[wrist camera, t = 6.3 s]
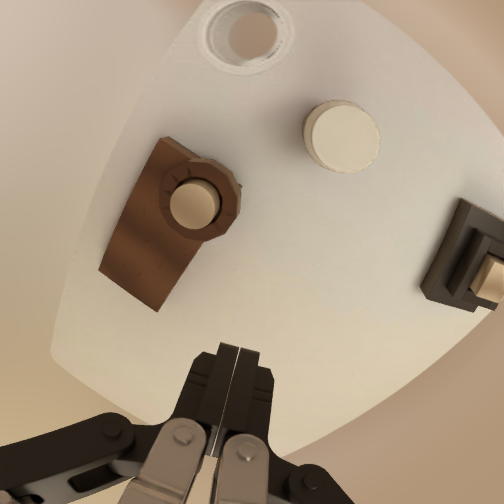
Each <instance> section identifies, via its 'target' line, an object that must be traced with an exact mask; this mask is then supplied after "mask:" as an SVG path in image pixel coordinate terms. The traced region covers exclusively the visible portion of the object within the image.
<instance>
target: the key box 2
mask: <svg viewBox="0 0 504 504" xmlns="http://www.w3.org/2000/svg"><path fill="white" fill-rule="evenodd" d="M486 253H487V254H490V255H492V256H494V257H496V258H498V259H501V260H503V261H504V220H503V219H501V218H499V217H497V216H495V215H494V214H492V213H490V212H488V211H486V210H484V209H482V208H480V207H478V206H477V205H475V204H473V203H471V202H469V201H467V200H465V199H463V198H461V199H460V202H459V205H458V207H457V210H456V212H455V215H454V217H453V219H452V222H451V224H450V226H449V229H448V231H447V233H446V236H445V238H444V240H443V242H442V244H441V246H440V249H439V251H438V253H437V255H436V257H435V259H434V261H433V263H432V265H431V267H430V269H429V271H428V273H427V275H426V277H425V279H424V281H423V283H422V285H421V287H420V288H421V290H422V292H423V294H424V295H425V297H426V299H428V300H431V301H435V302H438V303H442V304H445V305H449V306H452V307H456V308H459V309H463V310H466V311H469V312H473V313H474V312H475V310H476V308H477V307H478V306H481V307H484V308H488V309H490V310H493V311H494V310H495V309H496V307H497V306H498V304H499V303H496V302H493V301H490V300H487V299H484V298H481V297H478V296H476V295H475V293H474V292H473V291H472V289H471V288H470V287H469V286H470V284H471V282H472V280H473V278H474V276H475V275H476V273H477V271H478V269H479V267H480V265H481V263H482V261H483V259H484V257H485V255H486Z"/></svg>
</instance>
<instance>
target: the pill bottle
mask: <svg viewBox="0 0 504 504" xmlns="http://www.w3.org/2000/svg"><path fill="white" fill-rule="evenodd" d="M302 136H303V140H304V143H305V146H306V149H307V151H308V153H309V155H310V156H311V157H312V159H313V160H314V161H315V162H316V163H318V164H319V165H320V166H322V167H324V168H326V169H328V170H331V171H335V172H340V173H354V172H358V171H361V170H363V169H365V168H366V167H368V166H369V165H370V164H371V163H372V162H373V161H374V159H375V158H376V156H377V154H378V151H379V147H380V134H379V130H378V127H377V125H376V123H375V122H374V120H373V119H372V117H371V116H370V115H369V114H368V113H366V112H365V111H364V110H363V109H362V108H361V107H359V106H358V105H356V104H354V103H351V102H348V101H343V100H332V101H328V102H326V103H324V104H321V105H319V106H317V107H315V108H313V109H312V110H311V111H310V112H309V113H308V114H307V115H306V117H305V119H304V122H303V125H302Z"/></svg>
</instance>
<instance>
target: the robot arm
mask: <svg viewBox="0 0 504 504" xmlns="http://www.w3.org/2000/svg"><path fill="white" fill-rule="evenodd" d="M238 350H239V347H237V346H233V345H229V344H225V343H222V342H220V345H219V348H218V351H217V354H216V355H214V354H210V353H206V352H202V353H201V354H200V355H199V356H198V357H196V358H195V359H194V361H193V363H192V366H191V368H190V371H189V373H188V376H187V379H186V381H185V384H184V386H183V389H182V391H181V394H180V396H179V399H178V401H177V404H176V407H175V409H174V412H173V414H172V415H171V417H170V418H169V419H168V420H167V421H165V422H163V423H161V424H158V425H135V424H131V422H130V421H129V420H128V419H127V418H126V417H124V416H122V415H120V414H118V413H112V412H108V413H103V414H100V415H97V416H95V417H92V418H89V419H87V420H84V421H81V422H78V423H76V424H73V425H70V426H67V427H64V428H61V429H58V430H55V431H52V432H49V433H46V434H43V435H39V436H36V437H33V438H30V439H27V440H23V441H20V442H16V443H13V444H9V445H6V446H1V447H0V504H67V503H70V502H73V501H75V500H78V499H81V498H84V497H87V496H89V495H92V494H94V493H97V492H100V491H102V490H104V489H107V488H109V487H112V486H114V485H116V484H119V483H121V482H123V481H126V480H128V479H130V478H132V477H135V478H133V479H132V480H131V481H130V482H129V483H128V485H127V487H126V489H125V490H124V492H123V494H122V496H121V498H120V500H119V502H118V504H186V502H187V499H188V497H189V494H190V492H191V489H192V487H193V484H194V481H195V479H196V476H197V474H198V473H199V471H200V469H201V466H202V463H203V459H204V456H205V455H208V456H210V455H211V452H212V449H213V445H214V442H215V439H216V436H217V439H216V443H215V447H214V451H213V455H212V456H213V457H216V458H218V460H217V464H216V468H215V471H214V474H213V478H212V484H211V491H210V498H209V504H355V503H353V501H352V500H351V499H350V498H349V497H348V496H347V494H346V493H345V492H344V491H343V490H342V489H341V487H340V486H339V485H338V484H337V483H336V482H335V480H334V479H333V478H332V477H331V476H330V475H329V473H328V472H327V471H326V470H325V469H324V468H322V467H320V466H318V465H314V464H304V465H301V466H296V465H294V464H291V463H289V462H287V461H285V460H283V459H281V458H279V457H278V456H277V455H276V454H275V453H274V452H273V451H272V450H271V448H270V446H269V443H268V431H269V423H270V414H271V406H272V397H273V388H274V378H273V375H272V373H271V370H270V369H269V368H265V367H260V366H258V361H259V355H260V352H257V351H253V350H249V349H245V348H241V349H240V352H239V356H238V359H237V362H236V358H237V354H238ZM235 362H236V366H235ZM234 366H235V369H234ZM233 370H234V373H233ZM232 374H233V376H232ZM231 378H232V380H231ZM230 382H231V384H230ZM229 386H230V388H229ZM228 390H229V392H228ZM227 394H228V396H227ZM226 398H227V400H226ZM225 402H226V404H225ZM224 406H225V408H224ZM223 410H224V412H223ZM222 414H223V416H222ZM221 418H222V419H221ZM220 422H221V423H220ZM219 426H220V427H219ZM218 429H219V431H218ZM217 433H218V435H217Z"/></svg>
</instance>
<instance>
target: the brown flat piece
mask: <svg viewBox="0 0 504 504" xmlns="http://www.w3.org/2000/svg"><path fill="white" fill-rule="evenodd" d="M195 179H199V180H203V181H206V182H208V183H209V184H211V185H212V186H213V187H214V188H215V190H216V191H217V193H218V195H219V200H220V206H219V210H218V212H217V214H216V215H215V217H214V218H213V219H212V220H211V222H210V223H209V224H208V225H206V226H205V227H203V228H200V229H189V228H186V227H184V226H182V225H180V224H179V223H178V222H177V221H176V220H175V218H174V217H173V215H172V213H171V209H170V200H171V197H172V194H173V193H174V191H175V190H176V189H177V188H178V187H180V186H181V185H183V184H184V183H186V182H188V181H190V180H195ZM241 188H242V185H240V184H239V183H237V181H236V179H235V177H234V175H233V173H232V172H231V171H230V170H228V169H227V168H225V167H224V166H223V165H221V164H220V163H218V162H217V161H215V160H212V159H202V158H201V157H199V156H198V155H196V154H195V153H193V152H192V151H190V150H189V149H187V148H186V147H184V146H182V145H181V144H179V143H178V142H176V141H175V140H173V139H172V138H170V137H164V138H160V139H159V141H158V143H157V144H156V146H155V148H154V150H153V152H152V154H151V156H150V157H149V159H148V161H147V163H146V165H145V167H144V169H143V171H142V173H141V175H140V177H139V179H138V181H137V183H136V185H135V187H134V189H133V191H132V193H131V195H130V197H129V199H128V201H127V203H126V205H125V208H124V210H123V212H122V214H121V216H120V219H119V221H118V223H117V225H116V228H115V230H114V232H113V235H112V237H111V239H110V242H109V244H108V246H107V249H106V251H105V254H104V256H103V259H102V261H101V264H100V267H99V269H98V270H99V271H100V272H101V273H103V274H104V275H105V276H107V277H108V278H109V279H111V280H112V281H113V282H115V283H116V284H117V285H119V286H120V287H121V288H123V289H124V290H126V291H127V292H128V293H130V294H131V295H133V296H134V297H135V298H137V299H138V300H140V301H141V302H143V303H144V304H145V305H147V306H148V307H150V308H151V309H153V310H154V311H156V312H158V311H159V309H160V308H161V306H162V305H163V303H164V302H165V300H166V298H167V297H168V295H169V294H170V292H171V291H172V289H173V288H174V286H175V285H176V283H177V281H178V280H179V278H180V277H181V275H182V274H183V272H184V271H185V269H186V268H187V266H188V265H189V263H190V262H191V260H192V259H193V257H194V256H195V254H196V253H197V251H198V250H199V248H200V247H201V245H202V244H203V242H204V241H205V242H206V241H209V240H211V239H214V238H216V237H219V236H221V235H223V234H225V233H226V232H227V230H228V229H229V227H230V226H231V225H232V223H233V222H234V221H235V219H236V218H237V216H238V214H239V212H240V204H241Z"/></svg>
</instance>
